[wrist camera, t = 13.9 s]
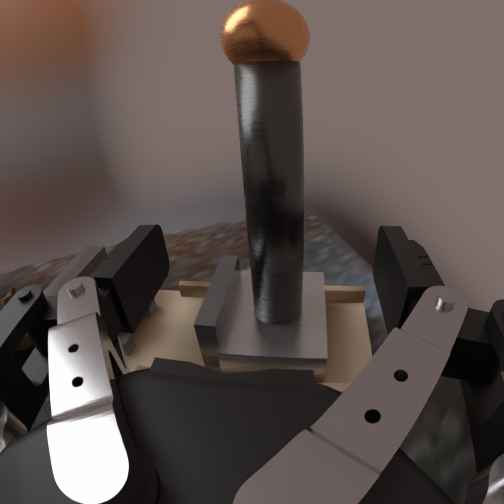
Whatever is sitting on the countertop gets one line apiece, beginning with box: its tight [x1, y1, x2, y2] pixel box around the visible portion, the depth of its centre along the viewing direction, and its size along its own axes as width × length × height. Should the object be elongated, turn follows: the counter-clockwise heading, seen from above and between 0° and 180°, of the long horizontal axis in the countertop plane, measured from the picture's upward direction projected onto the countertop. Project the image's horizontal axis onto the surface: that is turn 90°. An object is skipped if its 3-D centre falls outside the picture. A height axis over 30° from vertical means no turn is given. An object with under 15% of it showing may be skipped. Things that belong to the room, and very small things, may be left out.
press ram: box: [193, 0, 328, 383], centre depth 16 cm, size 7×8×20 cm
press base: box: [43, 246, 372, 393], centre depth 21 cm, size 24×10×7 cm, turn 82°
